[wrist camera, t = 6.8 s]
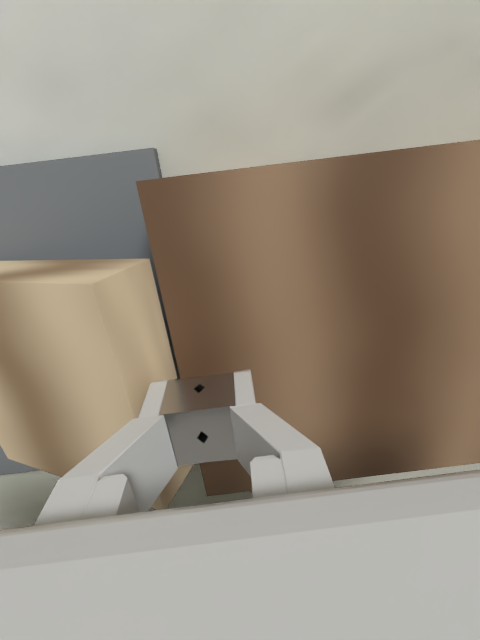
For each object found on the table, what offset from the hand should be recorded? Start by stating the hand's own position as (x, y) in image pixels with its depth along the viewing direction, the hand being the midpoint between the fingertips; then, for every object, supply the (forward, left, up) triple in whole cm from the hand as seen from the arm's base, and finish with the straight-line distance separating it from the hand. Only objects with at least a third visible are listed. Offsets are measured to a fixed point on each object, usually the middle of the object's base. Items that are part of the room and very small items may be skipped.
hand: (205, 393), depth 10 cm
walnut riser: (-6, 0, -5) cm, 8 cm away
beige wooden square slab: (+5, 0, -3) cm, 5 cm away
